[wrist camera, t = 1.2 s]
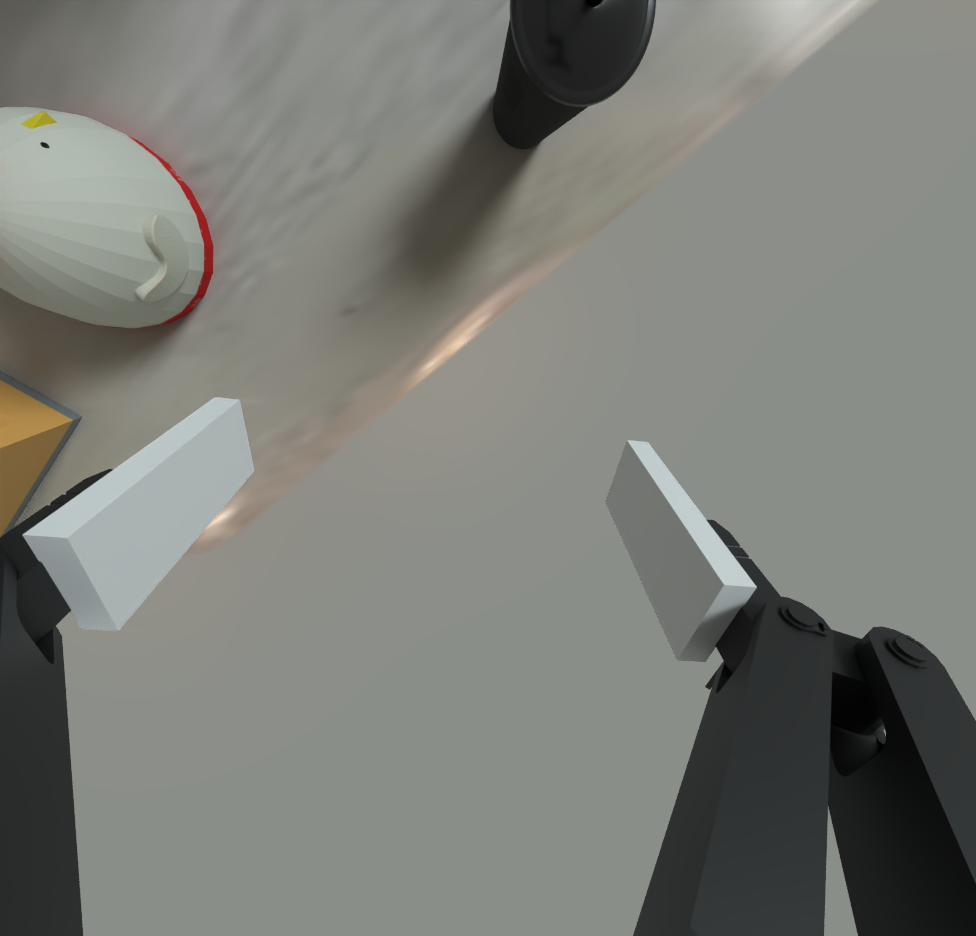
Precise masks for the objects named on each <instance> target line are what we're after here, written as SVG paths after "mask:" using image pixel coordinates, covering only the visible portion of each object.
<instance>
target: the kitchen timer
mask: <svg viewBox="0 0 976 936" xmlns="http://www.w3.org/2000/svg"><path fill="white" fill-rule="evenodd" d="M212 274H213V243H212V240H211V236H210V232H209V228H208V224H207V220H206V218H205V216H204V214H203V212H202V210H201V208H200V206H199V204H198V203H197V201H196V199H195V197H194V195H193V193H192V191H191V190H190V189H189V187H188V186H187V185H186V184H185V183H184V181H183V180H182V179H181V178H180V177H179V176H178V174H177V173H176V172H175V171H174V170H173V169H172V167H171V166H170V165H169V164H168V163H167V162H165V161H164V160H163V159H162V158H160V157H159V156H158V155H156V154H155V153H154V152H152V151H151V150H150V149H149V148H147V147H146V146H145V145H143V144H142V143H141V142H139V141H137V140H135V139H133V138H132V137H130V136H128V135H126V134H124V133H121V132H119V131H117V130H115V129H113V128H111V127H108V126H106V125H104V124H102V123H100V122H98V121H96V120H93V119H91V118H88V117H85V116H81V115H76V114H71V113H65V112H60V111H54V110H48V109H43V108H33V107H2V108H0V288H2V289H3V290H5V291H7V292H9V293H10V294H12V295H14V296H15V297H17V298H19V299H21V300H23V301H25V302H27V303H29V304H32V305H35V306H37V307H40V308H43V309H46V310H49V311H52V312H55V313H58V314H61V315H64V316H67V317H70V318H73V319H77V320H80V321H83V322H87V323H91V324H95V325H103V326H113V327H123V328H141V327H148V326H154V325H159V324H165V323H170V322H173V321H175V320H176V319H178V318H180V317H182V316H184V315H185V314H187V313H189V312H191V311H192V310H193V308H194V307H195V306H196V305H197V304H198V302H199V301H200V300H201V299H202V298H203V296H204V295H205V293H206V291H207V288H208V285H209V282H210V279H211V276H212Z"/></svg>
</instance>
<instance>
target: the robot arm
mask: <svg viewBox="0 0 976 936" xmlns="http://www.w3.org/2000/svg"><path fill="white" fill-rule="evenodd" d="M253 472H254V467H253V462H252V457H251V452H250V448H249V443H248V438H247V433H246V428H245V423H244V418H243V413H242V409H241V404H240V400H237V399H227V398H218V397H214V398H213V399H212V400H210V401H209V402H208V403H206V404H205V405H203V406H202V407H201V408H199V409H198V410H196V411H195V412H194V413H192V414H191V415H189V416H188V417H187V418H185V419H184V420H182V421H181V422H180V423H178V424H177V425H175V426H174V427H173V428H171V429H170V430H168V431H167V432H166V433H164V434H163V435H161V436H160V437H159V438H157V439H156V440H154V441H153V442H152V443H150V444H149V445H147V446H146V447H145V448H143V449H142V450H140V451H139V452H138V453H136V454H135V455H133V456H132V457H131V458H129V459H128V460H126V461H125V462H124V463H122V464H121V465H119V466H118V467H117V468H115V469H108V470H106V471H103V472H101V473H99V474H96V475H94V476H91V477H89V478H87V479H84V480H83V481H81V482H80V483H79V484H77V485H76V486H74V487H73V488H71V489H70V490H68V491H67V492H66V495H61V496H60V497H58V498H57V499H55V500H54V501H52V502H51V505H50V506H47V505H46V506H45V507H44V508H42V509H41V510H39V511H38V512H36V513H35V514H33V515H32V516H30V517H29V518H28V519H26V520H25V521H23V522H22V523H20V524H19V525H17V526H16V527H14V528H13V529H11V530H10V531H9V532H7V533H6V534H4V535H3V536H1V537H0V936H83V927H82V913H81V898H80V887H79V886H80V885H79V871H78V856H77V843H76V828H75V815H74V800H73V786H72V772H71V759H70V743H69V729H68V717H67V702H66V687H65V673H64V660H63V646H62V636H61V634H60V632H59V630H58V629H57V627H56V625H57V624H58V623H59V622H60V621H61V620H62V619H63V618H64V617H65V616H66V615H67V614H68V613H69V612H71V614H72V615H73V617H74V618H75V620H76V622H77V623H78V625H79V627H80V628H81V629H90V630H108V631H119V630H120V628H121V627H122V626H123V625H124V624H125V623H126V621H127V620H128V619H129V618H130V617H131V615H132V614H133V613H134V612H135V611H136V610H137V608H138V607H139V606H140V605H141V604H142V603H143V601H144V600H145V599H146V598H147V597H148V595H149V594H150V593H151V592H152V591H153V590H154V588H155V587H156V586H157V585H158V584H159V583H160V581H161V580H162V579H163V578H164V577H165V575H166V574H167V573H168V572H169V571H170V569H171V568H172V567H173V566H174V565H175V564H176V563H177V561H178V560H179V559H180V558H181V557H182V555H183V554H184V553H185V552H186V551H187V550H188V548H189V547H190V546H191V545H192V544H193V542H194V541H195V540H196V539H197V538H198V537H199V535H200V534H201V533H202V532H203V531H204V530H205V528H206V527H207V526H208V525H209V524H210V522H211V521H212V520H213V519H214V518H215V517H216V515H217V514H218V513H219V512H220V511H221V509H222V508H223V507H224V506H225V505H226V504H227V502H228V501H229V500H230V499H231V498H232V497H233V495H234V494H235V493H236V492H237V491H238V489H239V488H240V487H241V486H242V485H243V484H244V482H245V481H246V480H247V479H248V478H249V477H250V475H251V474H252V473H253ZM606 505H607V507H608V509H609V511H610V514H611V516H612V518H613V520H614V522H615V524H616V527H617V529H618V531H619V533H620V536H621V538H622V540H623V542H624V544H625V547H626V549H627V551H628V553H629V555H630V558H631V560H632V562H633V564H634V566H635V569H636V571H637V573H638V575H639V577H640V580H641V582H642V584H643V586H644V589H645V591H646V593H647V595H648V597H649V600H650V602H651V604H652V606H653V608H654V611H655V613H656V615H657V617H658V619H659V622H660V624H661V626H662V628H663V630H664V633H665V635H666V637H667V639H668V642H669V644H670V646H671V648H672V650H673V653H674V654H675V657H676V659H677V660H681V661H700V662H706V660H707V659H708V657H709V656H710V654H711V653H712V652H713V650H714V649H715V647H717V649H718V651H719V653H720V655H721V656H722V658H723V660H724V662H723V663H722V664H721V665H720V667H719V668H718V670H717V671H716V672H715V674H714V675H713V676H712V678H711V679H710V681H709V682H708V683H707V685H706V686H705V687H706V688H708V689H711V687H712V689H711V692H710V695H709V699H708V702H707V705H706V708H705V711H704V714H703V717H702V720H701V724H700V727H699V730H698V733H697V736H696V739H695V743H694V746H693V749H692V752H691V755H690V758H689V761H688V764H687V768H686V771H685V774H684V777H683V780H682V783H681V787H680V790H679V793H678V796H677V799H676V803H675V806H674V809H673V812H672V815H671V818H670V821H669V824H668V828H667V831H666V834H665V837H664V840H663V843H662V847H661V850H660V853H659V856H658V859H657V862H656V865H655V868H654V872H653V875H652V878H651V881H650V884H649V887H648V890H647V894H646V897H645V900H644V903H643V906H642V909H641V912H640V916H639V919H638V922H637V925H636V928H635V931H634V934H633V936H824V915H825V913H824V912H825V883H826V882H825V881H826V852H827V851H826V850H827V820H828V819H827V818H828V806H829V810H830V815H831V819H832V824H833V828H834V833H835V837H836V841H837V846H838V849H839V854H840V859H841V863H842V868H843V872H844V876H845V881H846V885H847V889H848V893H849V898H850V902H851V907H852V911H853V916H854V919H855V924H856V928H857V933H858V936H976V721H975V719H974V717H973V716H972V714H971V712H970V710H969V709H968V707H967V705H966V704H965V702H964V700H963V698H962V697H961V695H960V693H959V691H958V690H957V688H956V686H955V685H954V683H953V681H952V679H951V678H950V676H949V674H948V673H947V671H946V669H945V667H944V666H943V665H942V664H941V663H940V661H939V660H938V658H937V657H936V656H935V655H934V654H932V653H931V652H930V651H929V650H928V649H927V648H926V647H924V645H922V644H921V643H919V642H918V641H915V639H913V638H911V637H909V636H907V635H905V634H902V633H900V632H898V631H896V630H893V629H889V628H886V627H873V628H872V629H871V630H870V631H869V632H868V633H867V634H866V635H865V636H864V637H863V638H862V639H860V638H856V637H853V636H850V635H847V634H843V633H841V632H837V631H834V630H831V629H830V627H829V626H828V625H827V623H826V622H825V621H824V619H823V618H821V617H820V616H819V615H818V614H817V613H816V612H814V611H813V610H812V609H810V608H809V607H807V606H805V605H804V604H802V603H800V602H798V601H795V600H792V599H790V598H786V597H781V596H780V595H779V594H778V592H777V591H776V590H775V589H774V587H773V586H772V585H771V584H770V582H769V581H768V580H767V579H766V577H765V576H764V575H763V574H762V572H761V571H760V570H759V569H758V567H757V566H756V565H755V564H754V562H753V561H752V560H751V559H749V558H748V557H749V556H748V555H747V554H746V552H745V551H744V550H743V549H742V548H740V545H739V544H738V542H737V541H736V540H735V539H734V537H733V536H732V535H731V534H730V532H728V531H727V530H726V529H725V528H723V527H722V526H720V525H719V524H718V523H717V522H716V521H714V520H706V519H705V518H704V516H703V515H702V514H701V512H700V511H699V510H698V508H697V507H696V506H695V504H694V503H693V502H692V501H691V500H690V498H689V497H688V495H687V494H686V493H685V491H684V490H683V489H682V487H681V486H680V485H679V483H678V482H677V481H676V479H675V478H674V477H673V475H672V474H671V473H670V471H669V470H668V469H667V467H666V466H665V465H664V463H663V462H662V461H661V459H660V458H659V457H658V455H657V454H656V453H655V452H654V450H653V449H652V447H651V446H650V445H649V443H648V442H640V441H630V440H627V442H626V445H625V447H624V450H623V453H622V456H621V459H620V462H619V464H618V467H617V470H616V473H615V476H614V479H613V482H612V485H611V487H610V490H609V493H608V496H607V499H606ZM884 729H885V730H886V736H885V734H884V731H883V730H884Z"/></svg>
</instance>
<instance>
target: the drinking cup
mask: <svg viewBox="0 0 976 936" xmlns="http://www.w3.org/2000/svg"><path fill="white" fill-rule="evenodd" d="M655 7H656V0H510V22H509V27H508V32H507V38H506V43H505V48H504V53H503V58H502V63H501V69H500V74H499V79H498V84H497V89H496V94H495V100H494V107H493V114H494V121H495V125H496V128H497V130H498V132H499V134H500V135H501V137H502V138H503V139H504V140H505V141H506V142H507V143H508V144H509V145H511V146H513V147H515V148H519V149H527V148H530V147H533V146H535V145H536V144H538V143H539V142H540V141H542V140H543V139H545V138H546V137H547V136H549V135H550V134H551V133H553V132H554V131H556V130H557V129H558V128H560V127H561V126H562V125H564V124H565V123H566V122H568V121H569V120H571V119H572V118H573V117H575V116H576V115H577V114H579V113H580V112H581V111H583V110H584V109H586V108H587V107H588V106H591V105H594V104H597V103H600V102H602V101H604V100H606V99H608V98H609V97H611V96H612V95H613V94H615V93H616V92H617V91H618V90H619V89H620V88H622V87H623V86H624V85H625V83H626V82H627V81H628V80H629V79H630V78H631V76H632V75H633V74H634V72H635V71H636V69H637V67H638V66H639V64H640V62H641V60H642V58H643V56H644V54H645V51H646V49H647V46H648V43H649V40H650V36H651V33H652V28H653V23H654V17H655Z"/></svg>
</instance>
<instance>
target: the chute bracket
mask: <svg viewBox="0 0 976 936" xmlns="http://www.w3.org/2000/svg"><path fill="white" fill-rule="evenodd" d="M80 419H81V416H79V415H77V414H75V413H74V412H72V411H70V410H68V409H66V408H65V407H63V406H61V405H59V404H58V403H56V402H54V401H52V400H50V399H49V398H47V397H45V396H43V395H42V394H40V393H38V392H36V391H34V390H33V389H31V388H29V387H27V386H25V385H24V384H22V383H20V382H18V381H17V380H15V379H13V378H11V377H9V376H8V375H6V374H4V373H2V372H1V371H0V537H1V536H3V535H4V534H6V533H7V532H9V531H10V530H11V529H12V527H13V526H14V524H15V523H16V521H17V519H18V518H19V516H20V515H21V513H22V511H23V510H24V508H25V507H26V505H27V503H28V502H29V500H30V499H31V497H32V495H33V494H34V492H35V491H36V489H37V488H38V486H39V484H40V483H41V481H42V480H43V478H44V476H45V475H46V473H47V472H48V470H49V468H50V467H51V465H52V464H53V462H54V460H55V459H56V457H57V456H58V454H59V453H60V451H61V449H62V448H63V446H64V445H65V443H66V441H67V440H68V438H69V437H70V435H71V433H72V432H73V430H74V429H75V427H76V425H77V424H78V422H79V421H80Z"/></svg>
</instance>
